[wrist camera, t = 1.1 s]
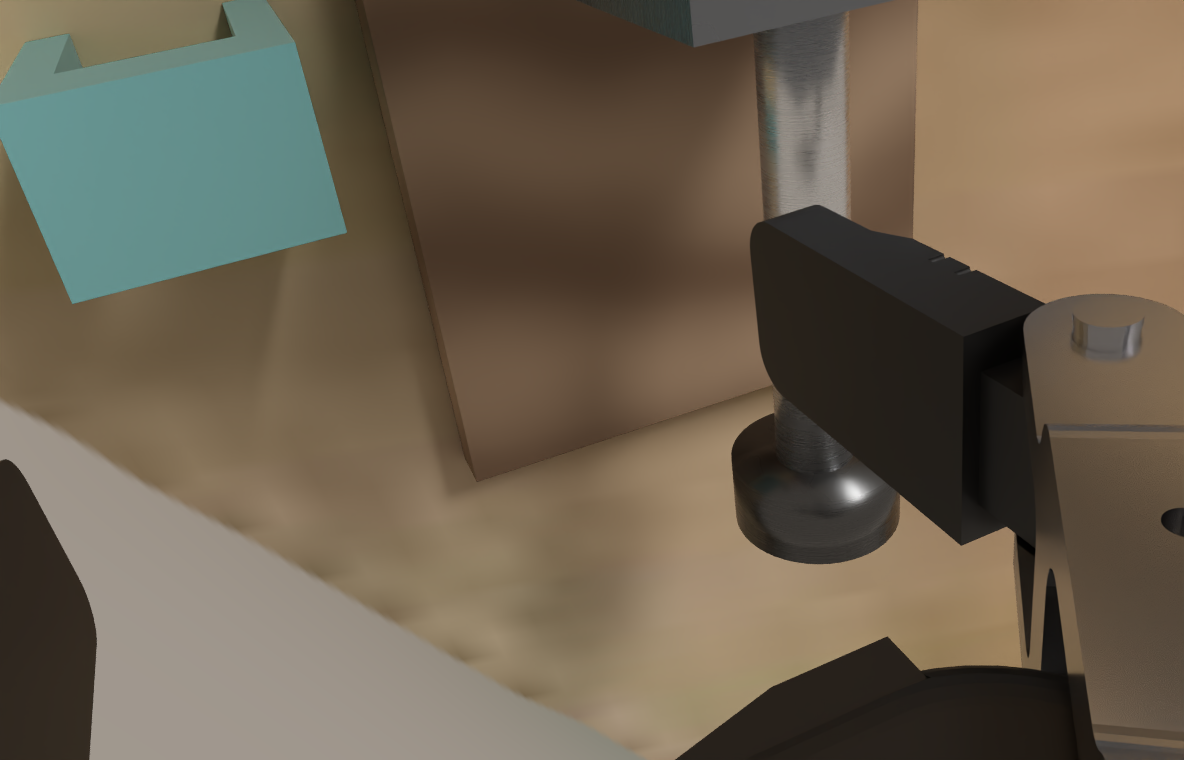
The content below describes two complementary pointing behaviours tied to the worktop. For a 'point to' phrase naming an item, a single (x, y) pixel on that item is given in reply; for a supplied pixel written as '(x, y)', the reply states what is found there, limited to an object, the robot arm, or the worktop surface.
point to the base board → (601, 206)
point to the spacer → (168, 155)
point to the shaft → (787, 437)
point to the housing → (721, 15)
